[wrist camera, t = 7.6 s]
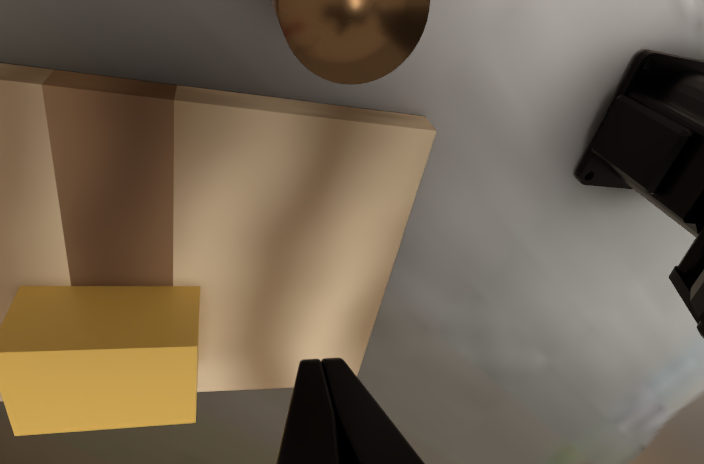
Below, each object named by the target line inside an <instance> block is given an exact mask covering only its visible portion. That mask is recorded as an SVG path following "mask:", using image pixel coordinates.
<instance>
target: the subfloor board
mask: <svg viewBox="0 0 704 464" xmlns="http://www.w3.org/2000/svg"><path fill="white" fill-rule="evenodd" d="M436 132H437V131H436V129H435V128H434V127H433V126H432V125H431V123H430V122H429V121H428V120H427V119H426V117H425V116H418V115H410V114H402V113H394V112H387V111H379V110H371V109H363V108H355V107H347V106H339V105H331V104H323V103H315V102H307V101H299V100H291V99H283V98H275V97H267V96H259V95H252V94H244V93H236V92H228V91H220V90H212V89H204V88H196V87H188V86H180V85H172V84H164V83H156V82H148V81H140V80H132V79H124V78H117V77H109V76H101V75H93V74H85V73H77V72H69V71H61V70H53V69H45V68H37V67H29V66H21V65H13V64H5V63H0V326H1V324H2V322H3V320H4V318H5V316H6V314H7V312H8V310H9V308H10V306H11V304H12V302H13V299H14V297H15V295H16V293H17V291H18V289H19V287H20V286H200V319H199V357H198V381H197V392H205V391H226V390H247V389H268V388H289V387H294V384H295V380H296V375H297V371H298V367H299V363H300V361H301V360H303V359H319V360H320V361H321V360H322V359H324V358H342V359H343V360H344V361H345V362H346V363H347V365H348V366H349V367H350V369H351V370H352V371H353V372H354V374H355V375H356V376H357V375H358V372H359V369H360V366H361V363H362V359H363V356H364V353H365V350H366V347H367V344H368V341H369V338H370V335H371V332H372V329H373V326H374V323H375V320H376V316H377V313H378V310H379V307H380V304H381V301H382V298H383V295H384V292H385V289H386V286H387V283H388V280H389V277H390V273H391V270H392V267H393V264H394V261H395V258H396V255H397V252H398V249H399V246H400V243H401V240H402V237H403V234H404V230H405V227H406V224H407V221H408V218H409V215H410V212H411V209H412V206H413V203H414V200H415V197H416V194H417V191H418V187H419V184H420V181H421V178H422V175H423V172H424V169H425V166H426V163H427V160H428V157H429V154H430V151H431V148H432V144H433V141H434V138H435V135H436ZM0 401H3V398H2V395H1V392H0Z"/></svg>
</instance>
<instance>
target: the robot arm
mask: <svg viewBox="0 0 704 464" xmlns="http://www.w3.org/2000/svg"><path fill="white" fill-rule="evenodd" d="M648 60H649V61H648ZM647 61H648V63H647V64H646V66H644V65H645V63H646V62H647ZM588 172H589V173H588ZM587 173H588V174H587ZM586 174H587V175H586ZM585 175H586V176H585ZM575 177H576V179H577V180H578V181H579V182H580V183H581V184H584V185H593V186H604V187H615V188H626V189H634V190H635V191H637V192H638V193H639V194H641V195H642V196H643V197H645V198H646V199H647V200H648V201H650V202H651V203H652V204H654V205H655V206H656V207H657V208H659V209H660V210H661V211H663V212H664V213H665V214H667V215H668V216H669V217H670V218H672V219H673V220H674V221H676V222H677V223H678V224H679V225H681V226H682V227H683V228H685V229H686V230H687V231H689V232H690V233H691V234H692V235H694V236H695V237H696V239H695V240H694V242H693V244H692V245H691V247H690V248H689V250H688V251H687V253H686V255H685V256H684V258H683V259H682V261H681V262H680V264H679V265H678V266H675V267H674V269H673V271H672V272H671V274H670V275H669V279H670V280H671V282H672V283H673V285H674V287H675V288H676V290H677V292H678V293H679V295H680V296H681V298H682V300H683V301H684V303H685V304H686V306H687V308H688V309H689V311H690V313H691V314H692V316H693V317H694V319H695V321H696V322H697V324H698V325H697V329H698V331H699V333H700V335H701V336H702V337H703V338H704V61H701V60H696V59H691V58H686V57H681V56H676V55H671V54H666V53H661V52H656V51H651V50H645V51H643V52H641V53H640V54H639V55H638V56H637V57H636V58H635V60H634V62H633V63H632V65H631V67H630V69H629V71H628V73H627V75H626V77H625V79H624V81H623V83H622V85H621V87H620V88H619V90H618V92H617V94H616V96H615V98H614V100H613V102H612V104H611V106H610V108H609V110H608V112H607V113H606V115H605V117H604V119H603V121H602V123H601V125H600V127H599V129H598V131H597V133H596V135H595V136H594V138H593V140H592V142H591V144H590V146H589V148H588V150H587V152H586V154H585V156H584V158H583V160H582V161H581V163H580V165H579V167H578V169H577V171H576V174H575ZM276 464H425V463H424V462H423V461H422V460H421V458H420V457H419V456H418V454H417V453H416V452H415V451H414V449H413V448H412V447H411V445H410V444H409V443H408V442H407V440H406V439H405V438H404V436H403V435H402V434H401V433H400V431H399V430H398V429H397V428H396V426H395V425H394V424H393V422H392V421H391V420H390V419H389V417H388V416H387V415H386V413H385V412H384V411H383V410H382V408H381V407H380V406H379V404H378V403H377V402H376V401H375V399H374V398H373V397H372V395H371V394H370V393H369V392H368V390H367V389H366V388H365V386H364V385H363V384H362V383H361V381H360V380H359V379H358V378H357V376H356V375H355V374H354V372H353V371H352V370H351V369H350V367H349V366H348V365H347V363H346V362H345V361H344V360H343V359H342V358H324V359H322V360H321V361H320V360H319V359H303V360H301V361H300V363H299V367H298V371H297V375H296V380H295V384H294V389H293V393H292V397H291V402H290V406H289V411H288V415H287V419H286V424H285V428H284V432H283V437H282V441H281V446H280V450H279V454H278V459H277V463H276Z"/></svg>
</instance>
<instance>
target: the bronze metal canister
mask: <svg viewBox="0 0 704 464" xmlns="http://www.w3.org/2000/svg"><path fill="white" fill-rule="evenodd" d="M271 2H272V5H273V7H274V10H275V13H276V15H277V18H278V20H279V23H280V26H281V28H282V31H283V33H284V36H285V38H286V40H287V43H288V45H289V47H290V48H291V50H292V51H293V53H294V55H295V56H296V57H297V58H298V60H299V61H300V62H301V63H302V64H303V65H304V66H305V67H306V68H307V69H309V70H310V71H311V72H313V73H314V74H316V75H318V76H320V77H322V78H323V79H326V80H329V81H332V82H336V83H340V84H361V83H367V82H370V81H373V80H376V79H379V78H381V77H383V76H385V75H387V74H388V73H390V72H392V71H393V70H394V69H396V68H397V67H398V66H399V65H401V64H402V63H403V62H404V61H405V60H406V58H407V57H408V56H409V55H410V54H411V52H412V51H413V50H414V48H415V47H416V45H417V43H418V42H419V40H420V38H421V35H422V33H423V31H424V28H425V25H426V22H427V18H428V13H429V6H430V0H271Z"/></svg>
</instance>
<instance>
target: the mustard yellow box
mask: <svg viewBox="0 0 704 464" xmlns="http://www.w3.org/2000/svg"><path fill="white" fill-rule="evenodd" d="M199 319H200V286H20V287H19V289H18V291H17V293H16V295H15V297H14V299H13V302H12V304H11V306H10V308H9V310H8V312H7V314H6V316H5V318H4V320H3V322H2V324H1V326H0V392H1V395H2V398H3V401H4V404H5V407H6V410H7V413H8V416H9V420H10V423H11V426H12V429H13V432H14V435H15V436H21V435H35V434H48V433H62V432H75V431H89V430H103V429H116V428H130V427H143V426H157V425H170V424H184V423H196V403H197V381H198V357H199Z"/></svg>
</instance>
